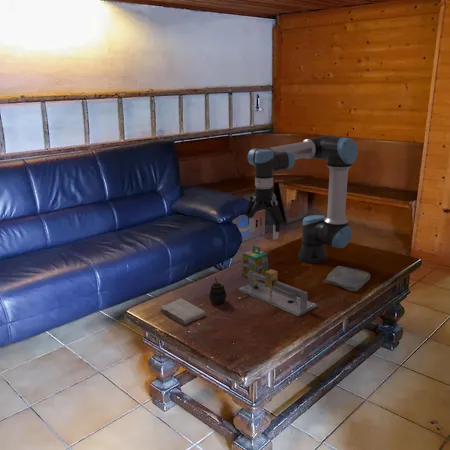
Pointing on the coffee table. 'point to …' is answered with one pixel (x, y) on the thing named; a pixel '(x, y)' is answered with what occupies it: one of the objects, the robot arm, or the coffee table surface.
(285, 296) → the trammel beam
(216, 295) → the mate gourd
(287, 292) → the combination wrench
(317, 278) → the coffee table surface
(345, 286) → the grey stone slab
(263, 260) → the chalk box
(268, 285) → the block
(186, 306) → the washcloth
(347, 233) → the robot arm
